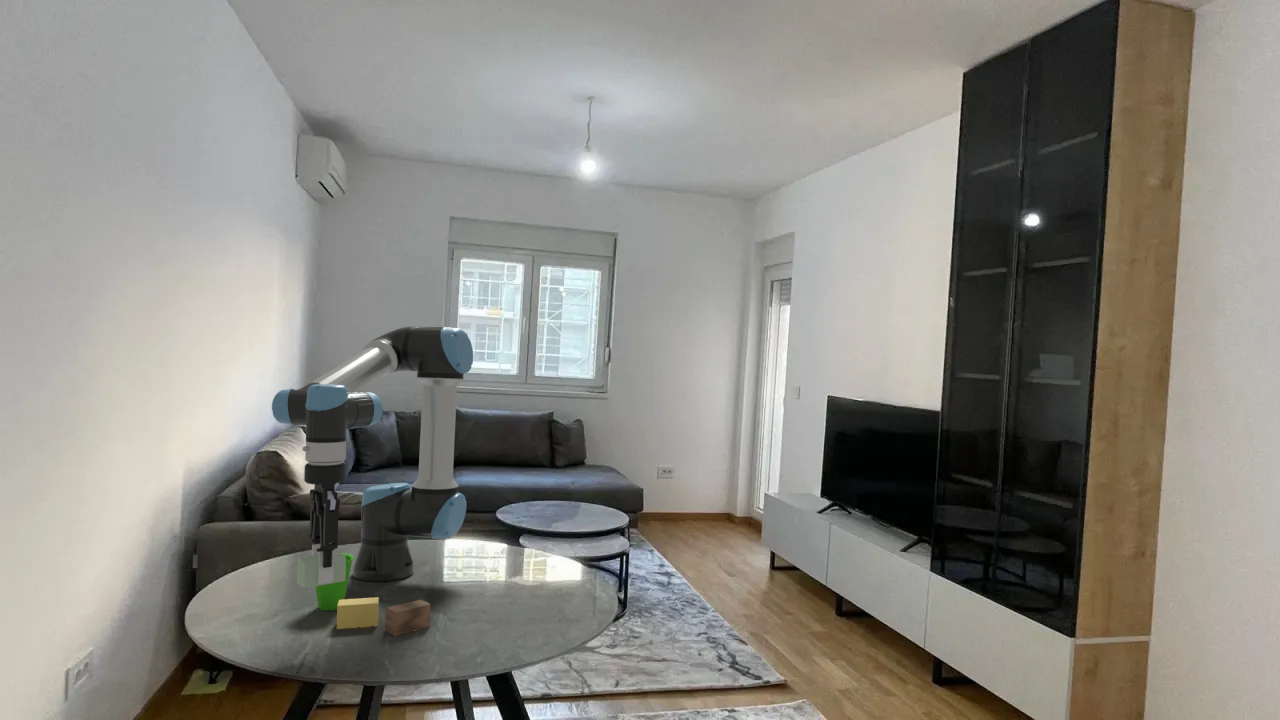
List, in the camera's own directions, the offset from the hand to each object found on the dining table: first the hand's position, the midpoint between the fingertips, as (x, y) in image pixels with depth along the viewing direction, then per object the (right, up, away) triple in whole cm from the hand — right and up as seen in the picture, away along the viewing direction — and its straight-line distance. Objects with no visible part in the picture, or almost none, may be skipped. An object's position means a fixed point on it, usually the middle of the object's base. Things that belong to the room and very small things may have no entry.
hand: (322, 579), depth 150 cm
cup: (-7, -12, +20) cm, 25 cm away
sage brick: (0, -1, 0) cm, 1 cm away
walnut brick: (+14, -13, +8) cm, 21 cm away
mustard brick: (+3, -13, +10) cm, 17 cm away
